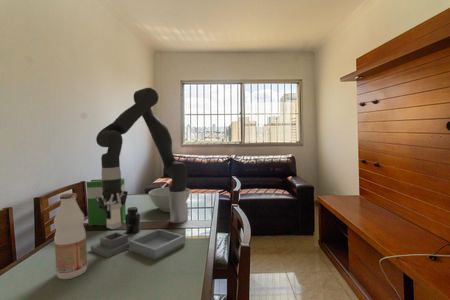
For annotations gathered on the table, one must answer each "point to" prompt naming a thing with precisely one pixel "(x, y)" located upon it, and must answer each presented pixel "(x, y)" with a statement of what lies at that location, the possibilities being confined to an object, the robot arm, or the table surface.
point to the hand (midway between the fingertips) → (113, 217)
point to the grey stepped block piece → (111, 244)
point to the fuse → (114, 216)
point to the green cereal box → (94, 212)
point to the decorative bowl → (163, 198)
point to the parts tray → (156, 243)
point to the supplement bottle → (132, 220)
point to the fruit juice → (70, 239)
